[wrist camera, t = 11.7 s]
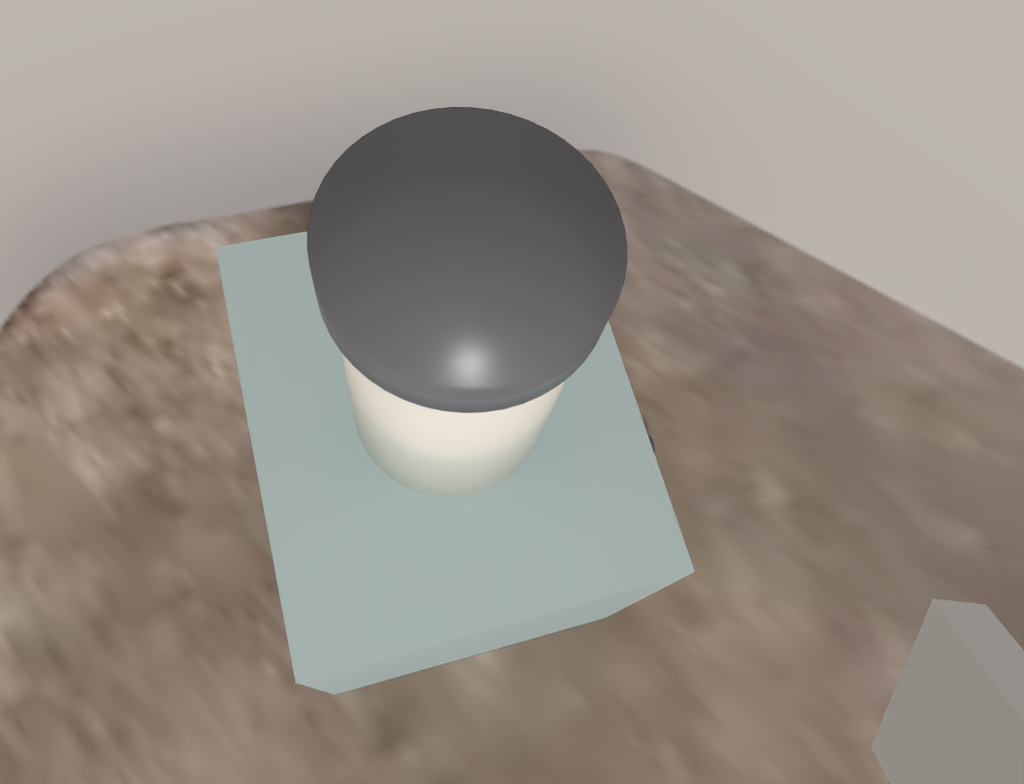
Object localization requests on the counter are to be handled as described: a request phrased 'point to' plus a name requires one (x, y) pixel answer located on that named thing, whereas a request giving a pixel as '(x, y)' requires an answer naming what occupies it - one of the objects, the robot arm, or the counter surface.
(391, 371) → the cream lidded jar
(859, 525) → the counter surface
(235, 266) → the block
